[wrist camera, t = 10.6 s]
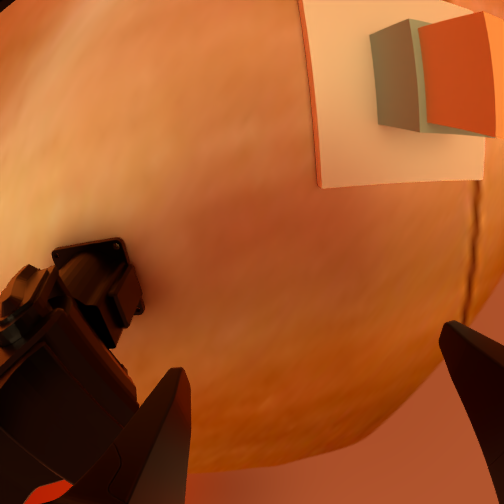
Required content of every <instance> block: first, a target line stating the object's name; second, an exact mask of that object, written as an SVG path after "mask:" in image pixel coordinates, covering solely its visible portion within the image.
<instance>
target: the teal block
mask: <svg viewBox="0 0 504 504" xmlns="http://www.w3.org/2000/svg"><path fill="white" fill-rule="evenodd" d="M430 24H432V23H428V22H424V21H419V20H414V19H406V20H403V21H401V22H398V23H396V24H393V25H391V26H389V27H386V28H384V29H382V30H379V31H377V32H375V33H372V34H370V35H369V37H370V44H371V51H372V59H373V68H374V78H375V88H376V101H377V116H378V124H379V125H385V126H390V127H395V128H401V129H405V130H410V131H415V132H419V133H440V134H456V135H469V136H480V137H490V138H495V137H491V136H487V135H483V134H479V133H475V132H471V131H467V130H462V129H458V128H453V127H448V126H443V125H438V124H432V123H427V113H426V95H425V82H424V72H423V62H422V54H421V47H420V40H419V33H418V28H420V27H423V26H426V25H430Z"/></svg>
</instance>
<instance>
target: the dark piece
mask: <svg viewBox="0 0 504 504" xmlns="http://www.w3.org/2000/svg"><path fill="white" fill-rule="evenodd" d="M14 1H15V0H0V12H2V11H3V10H4V9H5V8H6V7H8V6H9V5H10V4H11V3H13V2H14Z"/></svg>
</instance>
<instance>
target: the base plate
mask: <svg viewBox="0 0 504 504" xmlns="http://www.w3.org/2000/svg"><path fill="white" fill-rule="evenodd" d="M298 5H299V12H300V18H301V25H302V31H303V38H304V46H305V53H306V61H307V69H308V78H309V87H310V97H311V107H312V118H313V129H314V142H315V156H316V171H317V185H318V186H319V187H320V188H321V189H327V188H339V187H350V186H363V185H377V184H392V183H408V182H428V181H454V180H483V174H484V158H485V137H480V136H469V135H456V134H440V133H419V132H415V131H410V130H405V129H401V128H395V127H390V126H385V125H379V124H378V116H377V101H376V88H375V78H374V68H373V59H372V51H371V44H370V37H369V35H370V34H372V33H375V32H377V31H379V30H382V29H384V28H386V27H389V26H391V25H393V24H396V23H398V22H401V21H403V20H406V19H414V20H419V21H424V22H428V23H432V24H433V23H437V22H440V21H444V20H448V19H452V18H456V17H460V16H464V15H468V14H473V11H471V10H469V9H466V8H463V7H460V6H457V5H454V4H451V3H448V2H445V1H442V0H298Z"/></svg>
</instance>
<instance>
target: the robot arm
mask: <svg viewBox="0 0 504 504" xmlns="http://www.w3.org/2000/svg"><path fill="white" fill-rule="evenodd" d="M115 243H117V244H118V245H119V247H116V246H115ZM56 253H57V254H59V256H57V254H56ZM52 258H53V261H54V263H55V265H53V266H51V267H49V268H46V269H43V270H40V268H39V269H37V268H35V267H34V266H32V265H30V264H28V265H26V266H24V267H23V268H22V269H21V270H20V271H19V272H18V273H17V274H16V275H15V276H14V277H13V278H12V279H11V280H10V282H9V283H8V285H7V287H6V288H5V289H4V290H3V291H2V292H1V296H0V504H24V503H25V502H26V501H27V499H28V498H29V497H30V495H31V494H32V493H33V492H34V491H35V489H37V488H38V487H41V486H45V485H49V484H52V483H55V482H59V481H62V480H66V481H67V482H69V483H70V484H72V485H73V486H72V487H71V488H70V489H69V490H68V491H67V492H66V493H65V494H63V495H62V496H61V497H59V498H57V499H55V500H53V501H50V502H46V503H42V504H184V503H185V491H186V478H187V468H188V458H189V447H190V438H191V388H190V383H189V380H188V378H187V375H186V373H185V370H184V369H183V368H182V367H176V368H170V369H169V370H168V372H167V373H166V374H165V375H164V377H163V378H162V379H161V381H160V382H159V383H158V385H157V386H156V387H155V388H154V390H153V391H152V392H151V394H150V395H149V396H148V397H147V399H146V400H145V401H144V403H143V404H142V405H141V406H140V408H139V404H138V402H137V394H136V387H135V385H134V383H133V381H132V379H131V378H130V377H129V376H128V372H127V369H126V368H125V367H124V365H123V364H120V362H119V361H118V360H117V359H116V357H115V356H114V355H113V354H112V352H111V351H110V350H109V349H114V348H115V347H116V345H117V343H118V340H119V338H120V335H121V333H122V331H123V329H126V328H128V327H129V325H130V323H131V320H132V318H133V315H141V314H142V313H143V311H144V309H145V307H144V304H143V301H142V298H141V296H142V291H141V288H140V285H139V282H138V279H137V276H136V272H135V269H134V266H133V265H132V264H130V261H129V258H128V255H127V252H126V248H125V245H124V242H123V240H122V239H120V238H111V239H105V240H99V241H93V242H87V243H82V244H76V245H70V246H65V247H59V248H56V249H54V250H53V252H52ZM137 307H138V308H140V309H137ZM439 346H440V349H441V352H442V354H443V357H444V360H445V362H446V365H447V368H448V371H449V373H450V376H451V379H452V381H453V383H454V385H455V388H456V389H457V392H458V394H459V396H460V398H461V401H462V403H463V405H464V407H465V410H466V412H467V414H468V417H469V419H470V421H471V424H472V426H473V429H474V431H475V434H476V436H477V439H478V441H479V444H480V446H481V449H482V452H483V455H484V457H485V460H486V463H487V466H488V469H489V472H490V475H491V478H492V481H493V484H494V488H495V490H496V494H497V498H498V501H499V504H504V346H503V345H501V344H500V343H498V342H496V341H494V340H492V339H490V338H488V337H486V336H484V335H482V334H481V333H479V332H477V331H475V330H473V329H471V328H469V327H467V326H465V325H463V324H461V323H459V322H457V321H455V320H452V321H449V322H446V323H445V324H444V325H443V328H442V331H441V334H440V338H439Z"/></svg>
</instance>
